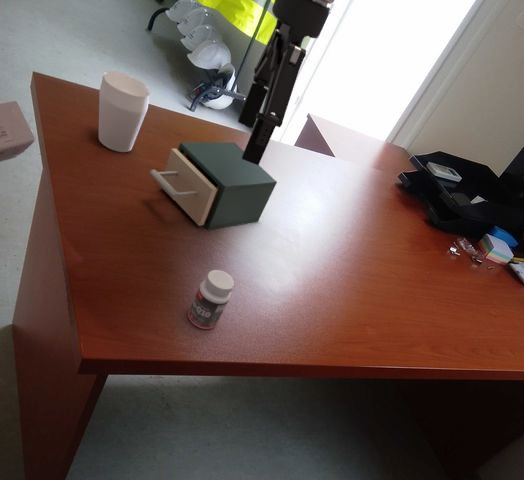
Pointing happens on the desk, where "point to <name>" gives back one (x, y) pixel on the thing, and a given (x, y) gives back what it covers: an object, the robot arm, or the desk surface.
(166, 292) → the desk surface
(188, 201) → the drawer
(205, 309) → the pill bottle
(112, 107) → the cup
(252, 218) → the cabinet
